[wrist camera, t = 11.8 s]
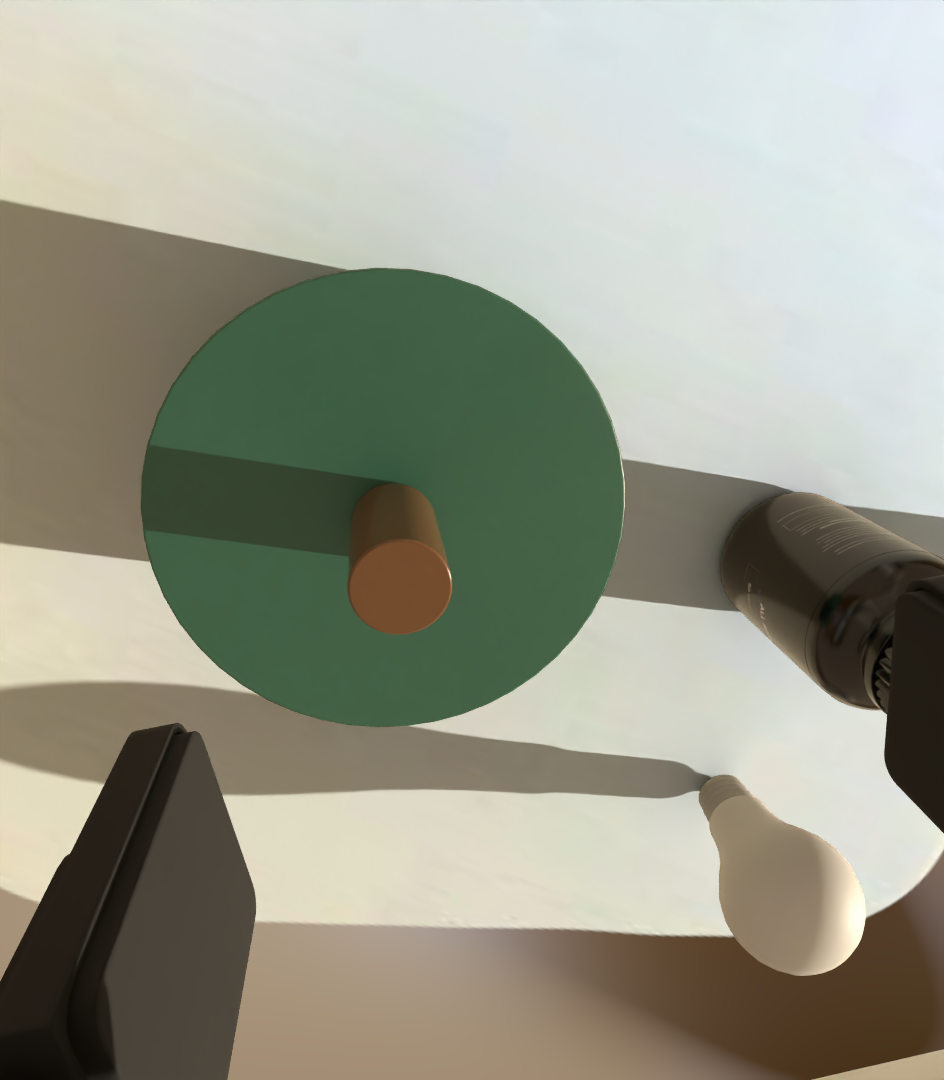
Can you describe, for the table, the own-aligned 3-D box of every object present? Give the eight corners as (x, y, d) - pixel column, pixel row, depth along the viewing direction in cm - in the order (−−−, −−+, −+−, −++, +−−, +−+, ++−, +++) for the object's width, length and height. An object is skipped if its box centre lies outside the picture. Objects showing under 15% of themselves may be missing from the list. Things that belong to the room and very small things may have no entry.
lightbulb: (786, 750, 41) (923, 911, 31) (737, 838, 43) (852, 1017, 33) (689, 726, 40) (800, 887, 30) (643, 817, 42) (733, 999, 32)
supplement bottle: (691, 593, 37) (831, 736, 26) (760, 468, 35) (943, 564, 24) (802, 635, 39) (978, 786, 28) (874, 517, 37) (1093, 629, 26)
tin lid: (81, 314, 21) (-25, 336, 15) (592, 228, 22) (671, 217, 16) (225, 746, 27) (186, 881, 21) (631, 661, 28) (700, 767, 22)
